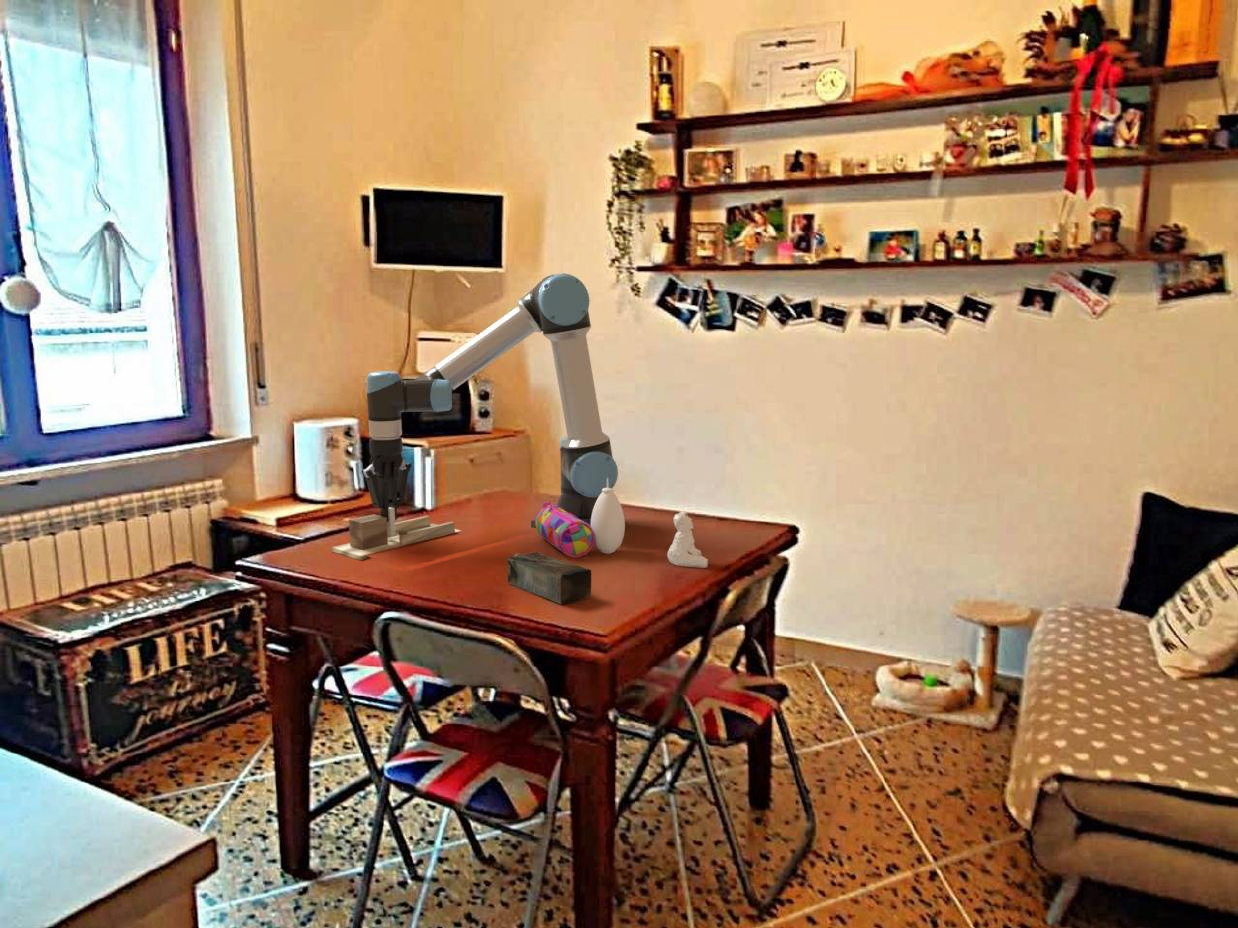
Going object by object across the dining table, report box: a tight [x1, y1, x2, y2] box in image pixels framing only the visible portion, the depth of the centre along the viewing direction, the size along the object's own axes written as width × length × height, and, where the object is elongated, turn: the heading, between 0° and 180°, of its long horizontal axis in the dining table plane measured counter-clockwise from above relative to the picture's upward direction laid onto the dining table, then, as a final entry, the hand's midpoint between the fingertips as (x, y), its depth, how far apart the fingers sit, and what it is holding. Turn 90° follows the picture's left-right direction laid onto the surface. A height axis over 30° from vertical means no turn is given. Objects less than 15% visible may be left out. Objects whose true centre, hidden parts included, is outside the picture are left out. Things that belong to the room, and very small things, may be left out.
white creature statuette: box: [666, 510, 709, 569], centre depth 212 cm, size 10×9×12 cm
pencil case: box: [530, 501, 595, 558], centre depth 226 cm, size 22×9×9 cm, turn 24°
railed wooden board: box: [331, 515, 462, 561], centre depth 230 cm, size 12×30×4 cm, turn 140°
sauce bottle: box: [591, 478, 626, 555], centre depth 220 cm, size 8×8×18 cm
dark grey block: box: [507, 551, 592, 605], centre depth 194 cm, size 8×19×7 cm, turn 41°
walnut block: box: [348, 513, 388, 550], centre depth 223 cm, size 5×7×6 cm
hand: (389, 533), depth 228 cm, fingers closed
